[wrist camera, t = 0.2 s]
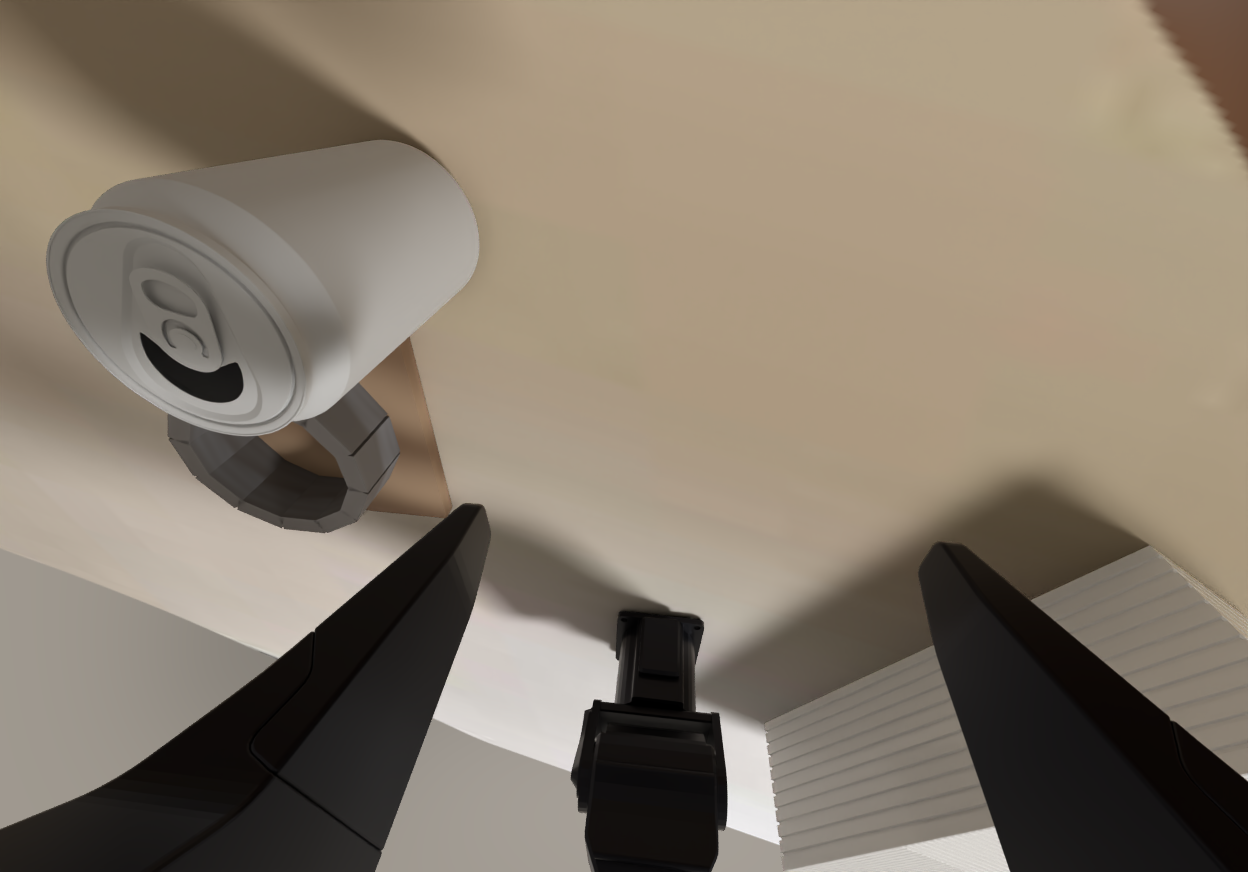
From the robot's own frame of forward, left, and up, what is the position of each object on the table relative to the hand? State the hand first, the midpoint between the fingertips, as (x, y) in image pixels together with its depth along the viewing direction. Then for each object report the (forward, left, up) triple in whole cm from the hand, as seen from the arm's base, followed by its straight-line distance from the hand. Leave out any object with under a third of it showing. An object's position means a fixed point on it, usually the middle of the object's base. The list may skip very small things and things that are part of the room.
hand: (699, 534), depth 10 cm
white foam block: (-29, -24, -15) cm, 41 cm away
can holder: (-9, +20, -14) cm, 26 cm away
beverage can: (+2, +12, -15) cm, 19 cm away
